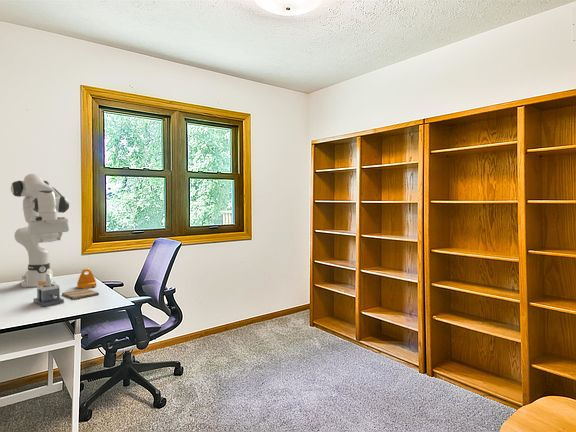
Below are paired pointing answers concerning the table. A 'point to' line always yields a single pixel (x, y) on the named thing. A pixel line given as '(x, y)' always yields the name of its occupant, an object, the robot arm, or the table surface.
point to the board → (80, 294)
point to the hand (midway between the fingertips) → (50, 241)
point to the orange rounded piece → (86, 280)
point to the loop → (43, 286)
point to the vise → (48, 295)
